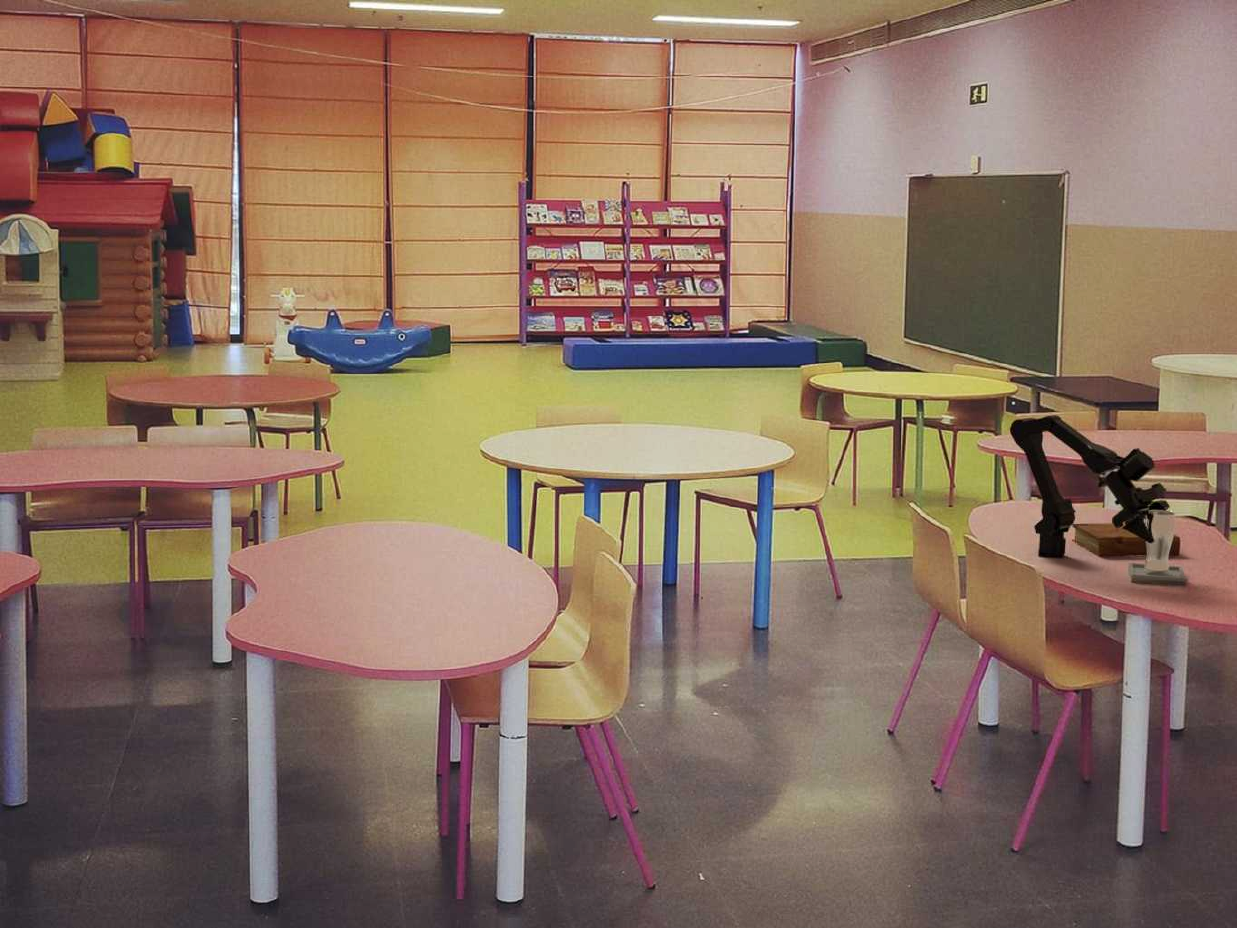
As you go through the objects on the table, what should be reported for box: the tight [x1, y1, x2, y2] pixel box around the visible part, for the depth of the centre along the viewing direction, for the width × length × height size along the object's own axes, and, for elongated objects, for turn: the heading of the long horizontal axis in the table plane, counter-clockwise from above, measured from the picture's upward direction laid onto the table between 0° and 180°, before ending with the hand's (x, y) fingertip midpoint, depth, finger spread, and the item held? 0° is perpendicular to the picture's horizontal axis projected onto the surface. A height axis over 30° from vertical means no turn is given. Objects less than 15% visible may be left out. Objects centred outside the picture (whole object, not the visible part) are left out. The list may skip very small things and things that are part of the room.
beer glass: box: [1143, 510, 1176, 572], centre depth 356 cm, size 7×7×15 cm
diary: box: [1071, 522, 1181, 557], centre depth 390 cm, size 23×19×6 cm
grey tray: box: [1127, 562, 1187, 587], centre depth 357 cm, size 13×13×2 cm
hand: (1160, 540), depth 356 cm, fingers closed on beer glass, 7 cm apart
